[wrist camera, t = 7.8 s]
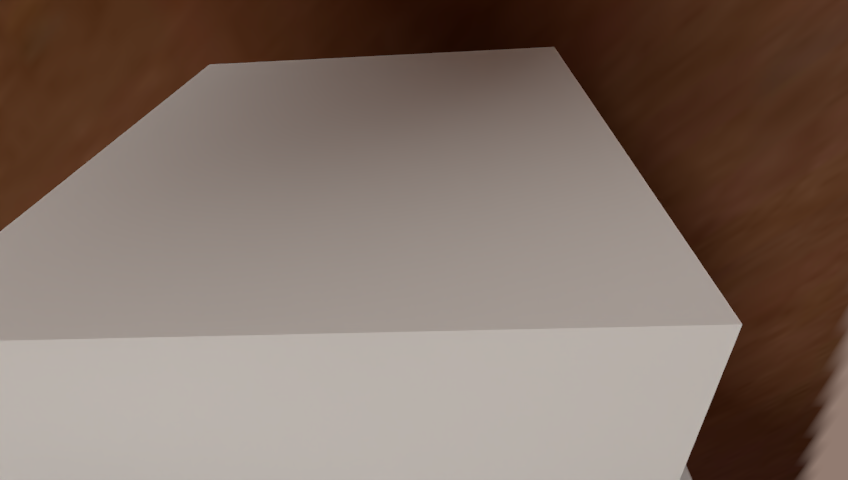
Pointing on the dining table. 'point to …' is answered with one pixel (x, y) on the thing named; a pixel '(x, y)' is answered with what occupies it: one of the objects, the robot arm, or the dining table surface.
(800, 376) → the dining table surface
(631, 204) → the off-white rectangular block
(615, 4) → the dining table surface
